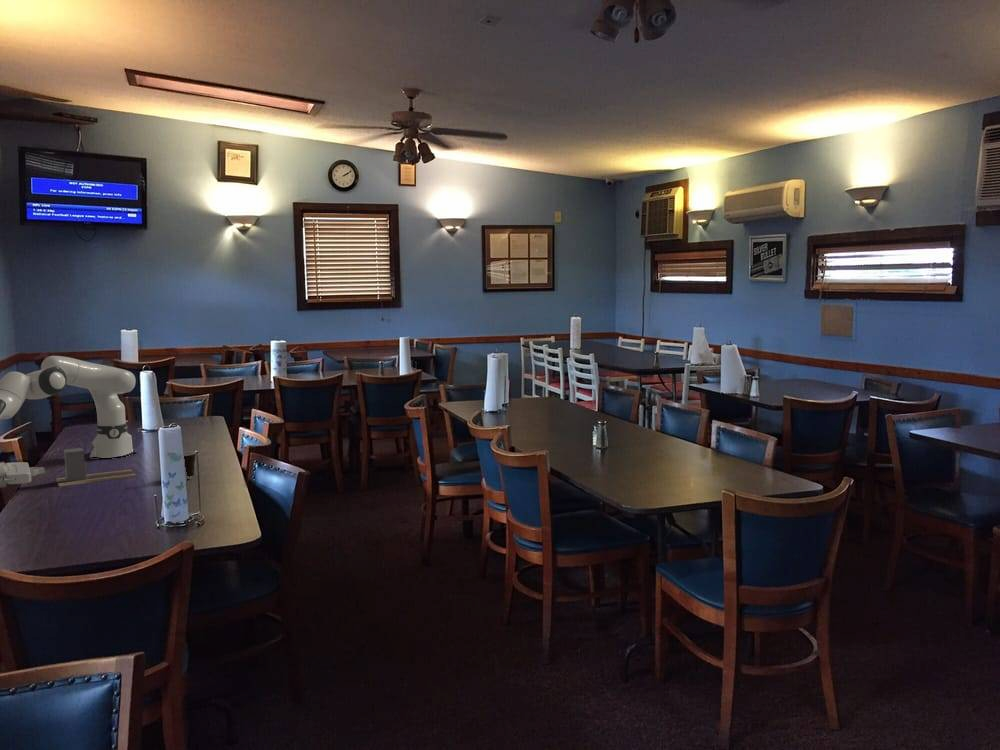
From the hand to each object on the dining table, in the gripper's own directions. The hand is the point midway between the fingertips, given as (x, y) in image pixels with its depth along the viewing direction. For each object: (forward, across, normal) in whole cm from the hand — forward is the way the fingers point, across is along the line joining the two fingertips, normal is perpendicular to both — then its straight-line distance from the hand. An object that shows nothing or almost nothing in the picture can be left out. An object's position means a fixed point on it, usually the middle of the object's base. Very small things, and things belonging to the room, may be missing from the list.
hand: (44, 470), depth 282 cm
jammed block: (+10, 0, +6) cm, 11 cm away
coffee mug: (+47, -12, +7) cm, 49 cm away
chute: (+17, 0, +7) cm, 18 cm away
